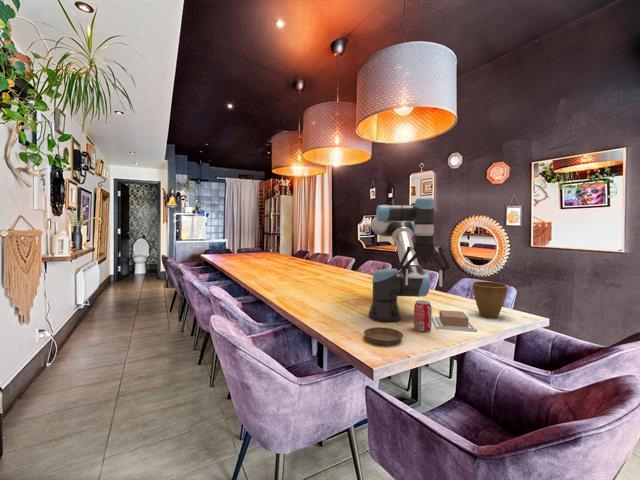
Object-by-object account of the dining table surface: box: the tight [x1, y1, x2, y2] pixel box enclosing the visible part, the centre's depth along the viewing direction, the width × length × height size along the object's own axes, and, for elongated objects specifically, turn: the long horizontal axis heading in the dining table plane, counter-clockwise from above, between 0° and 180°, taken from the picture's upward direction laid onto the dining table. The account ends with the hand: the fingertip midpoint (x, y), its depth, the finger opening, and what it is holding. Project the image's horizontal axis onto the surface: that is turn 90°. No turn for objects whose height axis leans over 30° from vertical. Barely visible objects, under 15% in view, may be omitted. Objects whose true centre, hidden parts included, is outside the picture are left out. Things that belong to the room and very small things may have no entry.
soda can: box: [413, 299, 433, 333], centre depth 125 cm, size 7×7×12 cm
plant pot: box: [472, 280, 508, 319], centre depth 145 cm, size 15×15×16 cm
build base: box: [432, 309, 478, 333], centre depth 132 cm, size 16×14×5 cm
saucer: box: [363, 327, 404, 346], centre depth 114 cm, size 15×15×3 cm
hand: (423, 285), depth 124 cm, fingers open, 13 cm apart
